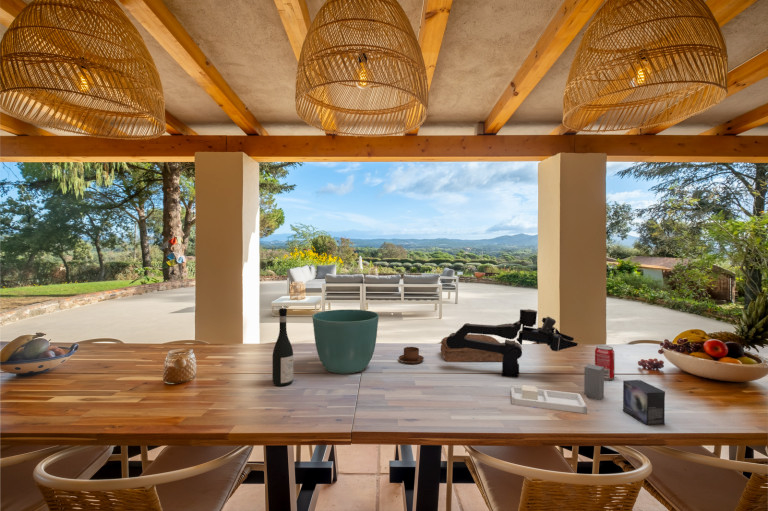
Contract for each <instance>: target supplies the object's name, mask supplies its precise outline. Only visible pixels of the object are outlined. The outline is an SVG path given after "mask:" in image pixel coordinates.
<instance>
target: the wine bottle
mask: <svg viewBox="0 0 768 511" xmlns="http://www.w3.org/2000/svg"><path fill="white" fill-rule="evenodd" d="M278 314H279V316H278V317H279V329H278V330H279V331H278V332H279V333H278V337H277V338H276V342H275V344H274V346H273V350H272V363H271V364H272V366H271V367H272V370H271V371H272V384H273V385H275V386H278V387H284V386H289V385H292V383H293V382H294V351H293V347H292V346H293V345H292V344H291V342H290V339H289V336H288V332H287V314H288V309H287V308H282V307H281V308H279V309H278Z"/></svg>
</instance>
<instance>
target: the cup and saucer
mask: <svg viewBox="0 0 768 511" xmlns="http://www.w3.org/2000/svg"><path fill="white" fill-rule="evenodd" d="M398 359H399V360H400V362H403V363H406V364H418V363H422V362H423V361H424V359H425V357H424V356H422V355H420V348H419V347H416V346H406V347H405V346H404V347H403V354H402V355H399V356H398Z"/></svg>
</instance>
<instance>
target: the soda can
mask: <svg viewBox="0 0 768 511" xmlns="http://www.w3.org/2000/svg"><path fill="white" fill-rule="evenodd" d="M594 365H596V366H601V367H604V381H612V380H614V379H615V368H616V367H615V350H614V347H612V346H609V345H596V346H595V350H594Z"/></svg>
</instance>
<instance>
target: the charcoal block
mask: <svg viewBox="0 0 768 511" xmlns="http://www.w3.org/2000/svg"><path fill="white" fill-rule="evenodd" d="M583 379H584V383H583V384H584V385H583V387H584V388H583V390H584V391H583V392H584V393H583V394H584V395H585V396H586V398H588V399H592V400H596V401H601V400H602V399H604V396H605V394H604V393H605V392H604V391H605V380H604V367H601V366H596V365H595V364H590V363H589V364H587V365H585V366H584V375H583Z"/></svg>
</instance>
